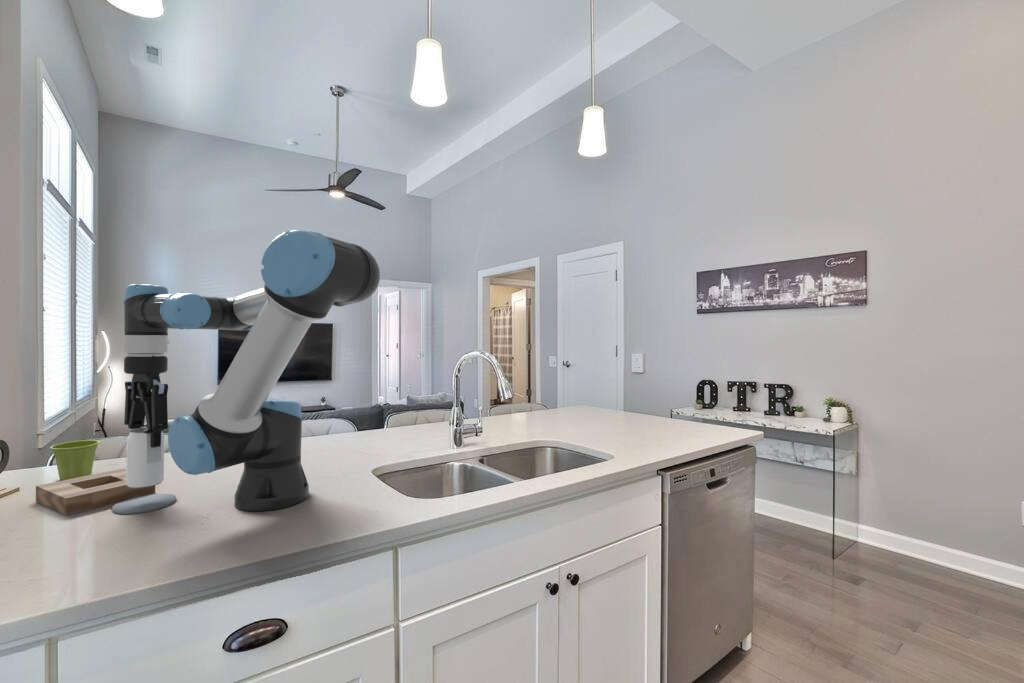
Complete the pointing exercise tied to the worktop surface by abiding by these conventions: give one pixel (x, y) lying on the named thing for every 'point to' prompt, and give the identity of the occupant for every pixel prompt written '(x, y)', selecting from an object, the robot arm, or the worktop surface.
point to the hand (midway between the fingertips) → (145, 459)
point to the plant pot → (75, 458)
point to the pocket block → (88, 492)
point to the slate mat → (144, 503)
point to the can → (142, 462)
